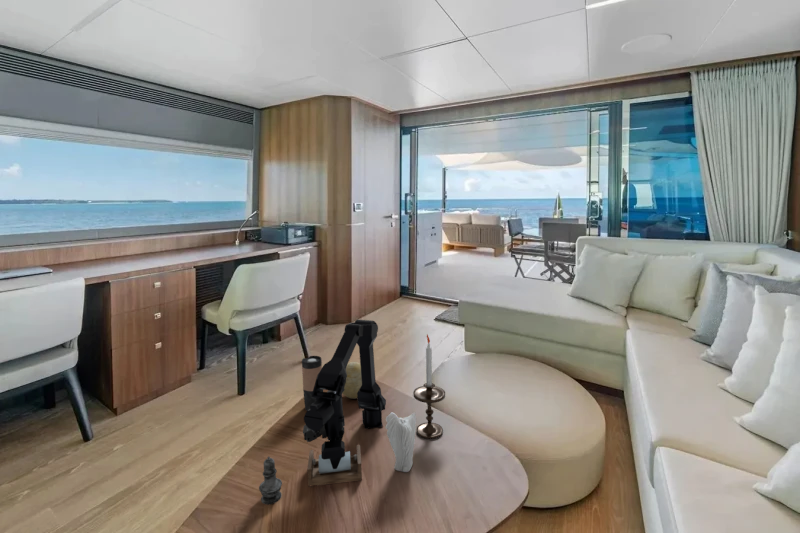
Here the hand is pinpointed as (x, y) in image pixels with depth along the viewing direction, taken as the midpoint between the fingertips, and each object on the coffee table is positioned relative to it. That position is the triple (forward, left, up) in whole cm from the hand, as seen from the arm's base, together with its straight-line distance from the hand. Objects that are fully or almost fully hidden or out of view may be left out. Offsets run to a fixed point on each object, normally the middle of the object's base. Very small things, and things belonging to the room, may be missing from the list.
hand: (335, 461), depth 113 cm
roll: (0, 0, -3) cm, 3 cm away
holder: (0, 0, -4) cm, 4 cm away
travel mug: (+9, -41, -4) cm, 42 cm away
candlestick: (-32, -16, -4) cm, 36 cm away
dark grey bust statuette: (+17, +7, -4) cm, 19 cm away
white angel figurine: (-20, +1, -4) cm, 20 cm away
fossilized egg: (-7, -47, -4) cm, 48 cm away
